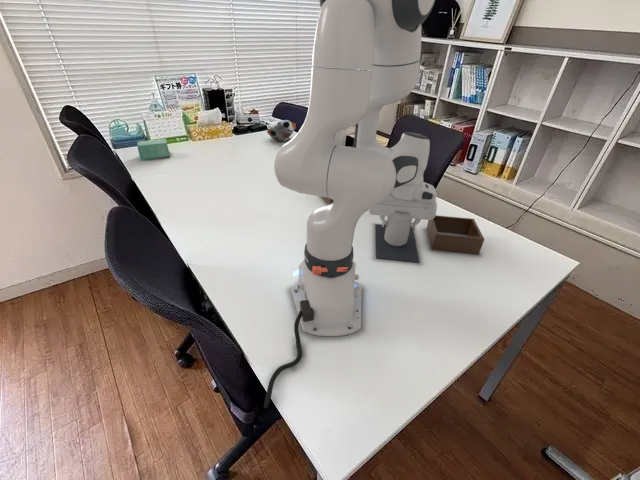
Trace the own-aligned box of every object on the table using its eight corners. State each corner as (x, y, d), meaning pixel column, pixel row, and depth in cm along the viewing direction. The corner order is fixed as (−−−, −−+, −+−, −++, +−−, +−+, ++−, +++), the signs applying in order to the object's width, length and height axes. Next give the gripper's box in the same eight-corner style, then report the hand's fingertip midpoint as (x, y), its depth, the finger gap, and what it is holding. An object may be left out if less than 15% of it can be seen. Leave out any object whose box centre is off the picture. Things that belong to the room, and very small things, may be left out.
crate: (478, 254, 104) (484, 239, 100) (431, 250, 105) (435, 234, 102) (468, 233, 114) (473, 218, 111) (426, 229, 115) (429, 214, 112)
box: (140, 155, 165) (136, 140, 161) (169, 152, 171) (166, 138, 166) (140, 160, 160) (136, 145, 156) (170, 157, 165) (167, 142, 161)
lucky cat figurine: (281, 134, 204) (291, 114, 196) (291, 146, 200) (302, 126, 192) (262, 131, 193) (273, 110, 185) (273, 144, 188) (284, 123, 181)
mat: (419, 263, 99) (419, 262, 99) (376, 258, 100) (376, 257, 100) (412, 228, 116) (412, 227, 115) (375, 225, 117) (375, 224, 116)
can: (382, 245, 106) (387, 212, 99) (385, 233, 112) (390, 201, 105) (405, 249, 104) (413, 216, 97) (407, 237, 110) (414, 205, 103)
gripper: (370, 189, 95) (365, 229, 103) (442, 195, 94) (431, 236, 101) (370, 180, 101) (365, 219, 108) (438, 186, 99) (428, 225, 107)
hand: (398, 227), depth 105 cm, fingers closed on can, 7 cm apart
